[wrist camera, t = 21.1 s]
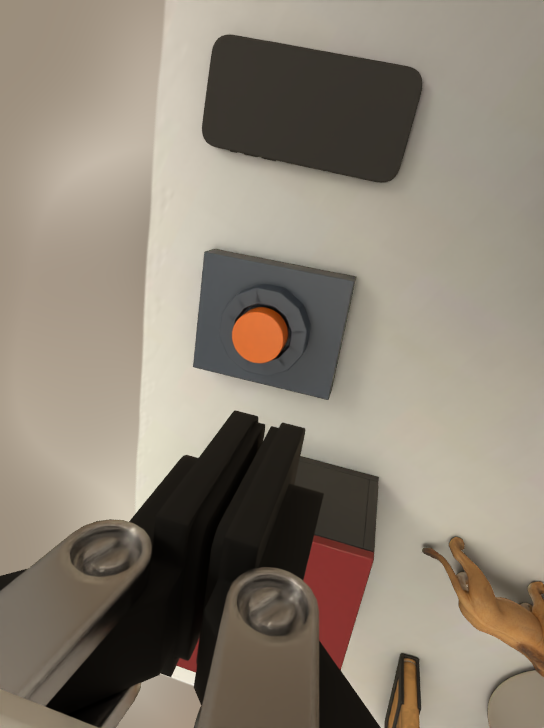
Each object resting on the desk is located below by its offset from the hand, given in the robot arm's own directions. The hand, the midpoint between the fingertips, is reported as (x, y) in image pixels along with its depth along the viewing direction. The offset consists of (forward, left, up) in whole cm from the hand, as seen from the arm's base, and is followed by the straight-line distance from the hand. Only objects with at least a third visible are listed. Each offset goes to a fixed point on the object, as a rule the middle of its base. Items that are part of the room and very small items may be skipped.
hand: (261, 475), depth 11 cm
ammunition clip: (-14, +42, -29) cm, 53 cm away
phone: (+6, -11, -29) cm, 32 cm away
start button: (+6, +5, -25) cm, 27 cm away
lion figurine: (-19, +24, -29) cm, 42 cm away
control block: (+6, +5, -29) cm, 30 cm away
